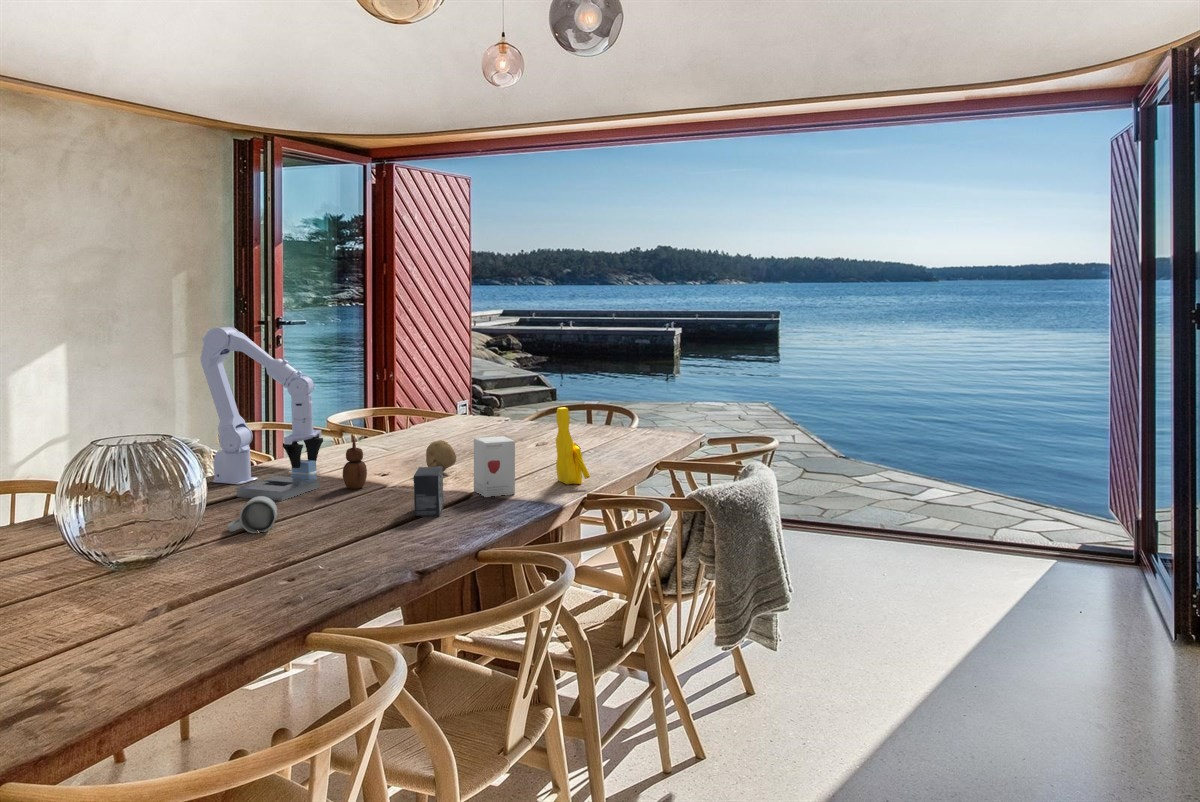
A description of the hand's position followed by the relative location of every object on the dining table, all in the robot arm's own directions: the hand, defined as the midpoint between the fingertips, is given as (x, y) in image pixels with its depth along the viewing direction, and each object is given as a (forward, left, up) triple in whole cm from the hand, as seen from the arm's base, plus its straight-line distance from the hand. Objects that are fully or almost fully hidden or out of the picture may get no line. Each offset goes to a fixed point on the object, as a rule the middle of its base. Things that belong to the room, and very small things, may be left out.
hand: (304, 465), depth 250 cm
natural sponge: (+31, +24, -5) cm, 39 cm away
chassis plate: (+2, -14, -5) cm, 15 cm away
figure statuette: (+72, +24, -5) cm, 76 cm away
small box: (+50, -19, -5) cm, 54 cm away
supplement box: (+57, +5, -5) cm, 57 cm away
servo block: (0, 0, -5) cm, 5 cm away
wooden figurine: (+18, -2, -5) cm, 19 cm away
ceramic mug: (+20, -47, -5) cm, 52 cm away
